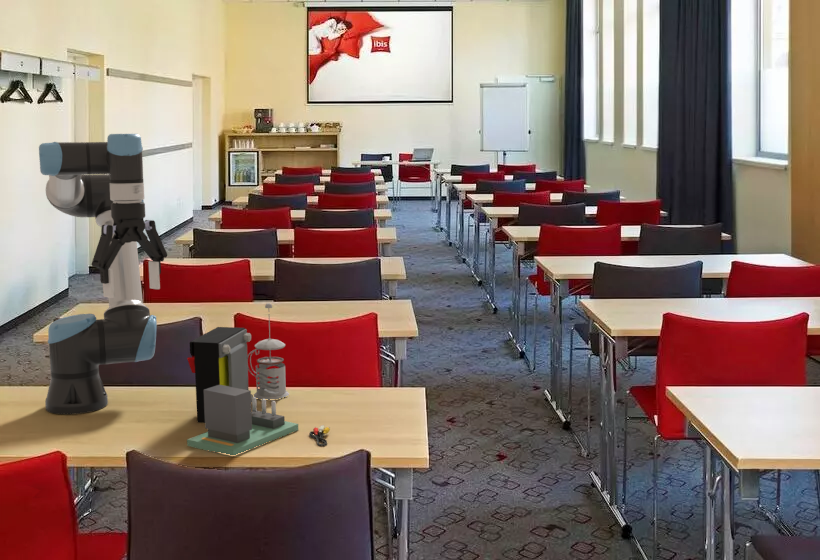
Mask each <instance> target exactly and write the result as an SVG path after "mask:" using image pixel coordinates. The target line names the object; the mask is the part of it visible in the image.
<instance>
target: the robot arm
mask: <svg viewBox="0 0 820 560" xmlns="http://www.w3.org/2000/svg"><path fill="white" fill-rule="evenodd" d="M142 144H143V143H142V137H141V134H138V133H109V134H108V135H107V140H106V141H93V142H91V141H89V142H85V141H84V142H82V141H81V142H79V141H78V142H77V141H76V142H74V141H73V142H72V141H71V142H69V141H68V142H67V141H66V142H61V141H60V142H58V141H52V142H42V143H40V144H39V146H38V154H39V155H38V156H39V169H40V171H39V172H40V174H42V175H44V176H48V180H47V181H46V184H45V196H46V199H47V200H48V202H49V203H50V205H51V206H53V208H55V209H56V210H57V211H59V212H61V213H64V214H65V215H69V216H71V217H76V218H95V219H94V220H95V224H96V225H97V226H98V227H100V229H101V231H100V232H101V233H100V237H99V240H98V243H97V247H96V249H95V253H94V255H93V258H92V261H91V266H92V267H93V268H96V269H98V270H99V276H100V283H101V284H102V289H103V290H102V293H103V298H107V299H108V307H107V308H106V310H105V311H104V312H103V318H101V319H97V316H96V315H95V314H94V313H79V314H73V315H69V316H65V317H62V318H59V319H56V320H54V321H53V322H51V323H50V325H49V326H48V331H47V333H48V338H47V339H48V340H47V344H48V347H49V349H48V350H49V367H50V382H49V385H48V390H47V396H46V398H45V400H44V401H45V411H46V412H48V413H50V414H51V413H52V414H54V415H55V414H56V415H78V414H86V413H90V412H95V411H98V410H101V409H103V408H106V406H107V405H109V399H108V398H109V397H108V394H107V392H106V389H105V385H104V383H103V381H102V379H101V376H100V369H99V366H100V365H111V364H124V363H125V364H126V363H137V362H141V361H142V362H143V361H149V360H151V359H152V358H153V357H154V356H155V351H156V341H157V324H158V323H157V316H156V315H154V314H151V313H150V308H149V306H147V305H145V304H144V301H143V293H142V281H141V271H140V263H139V254H138V253H139V251H138V245H139V246H140V247H141V248H142V250H143V251H144V252H145V254H146V255H147V256H148V257H149V259H150V260H149V261H148V279H149V289H153V290H160V289H161V282H160V281H161V278H160V275H161V273H162V265H161V264H162V263H161V262H164V261H165V258H167V257H168V253H167V251H166V248H165V246H164V243H163V242H162V239H161V237H160V235H159V232H158V229H157V225H156V221H155V220H153V219H152V220H151V219H150V220H149V219H145V220H144V218H145V217H146V203H145V202H144V200H145V183H144V167H143V145H142ZM144 230H145V232H144Z"/></svg>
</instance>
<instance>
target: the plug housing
mask: <svg viewBox="0 0 820 560" xmlns="http://www.w3.org/2000/svg"><path fill="white" fill-rule="evenodd" d="M251 394H252V391H251V389H250V390H245V389H239V388H234V387H229V386H224V385H217V386H214V387H211V388H207V389H204V413H205V423H204V428H205V429H207V430H208V429H210V430H215V431H219V432H223V433H228V434H232V435H239V434H242V433H244V432H247V431H249V430H252V413H251V412H252V403H251Z"/></svg>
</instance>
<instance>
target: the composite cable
mask: <svg viewBox="0 0 820 560" xmlns="http://www.w3.org/2000/svg"><path fill="white" fill-rule="evenodd" d="M330 431H331V427H330V426H328V427H325V425H324V424H323V425H320V426H319V428H318V427H317V426H314V427H313V430H312V431H309V434H308V436H309V437H310V438H312V439H314V440H315V439H316V440H315V441H316V444H317V446H318V447H327V446H328V441H327V439H324V437H323V436H325V435H327V434H328V433H329V432H330ZM313 434H314V435H313ZM320 441H321V442H320Z"/></svg>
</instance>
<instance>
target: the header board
mask: <svg viewBox="0 0 820 560" xmlns="http://www.w3.org/2000/svg"><path fill="white" fill-rule="evenodd" d="M270 403H271V404H270V405H271V412H267V400H265V399H262V400H261V411H260V410H257V408H258V405H257V399H256V397H253V398H252V403H251V413H252V430H249V431H247V432H244V433H242V434H239V435H232V434H228V433H223V432H219V431H215V430H210V429H207V431H206V432H203V433H201V434H198V435H196V436H193V437H190V438H187V439H186V443H187V447H190V448H195V449H199V450H202V449H203V451H207V450H209V451H208V452H211V451H215V452H221V453H226V454H230V455H236V454H238V453H241V452H244V451H246V450H249V449H252V448H254V447H256V446H259V445H261V446H263V445H262V444H264V443H266V442H269V441H271V442H273V441H276V440H278V439H280V438H279V437H281V438H282V436H283V437H285V436H288V435H289V433H290V434H292V432H293V433H294V432H297V431H299V423H295V422H291V421H286V420H285V416H284V415H279V414H277V410H276V409H277V408H276V407H277V404H276V403H277V402H276V400H271V402H270ZM287 434H288V435H287ZM277 438H278V439H277ZM275 439H276V440H275ZM272 440H273V441H272ZM269 443H270V442H269ZM266 444H267V443H266ZM264 445H265V444H264ZM259 447H260V446H259ZM256 448H257V447H256ZM254 449H255V448H254ZM252 450H253V449H252ZM249 451H250V450H249ZM215 452H214V453H215ZM244 453H245V452H244Z"/></svg>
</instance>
